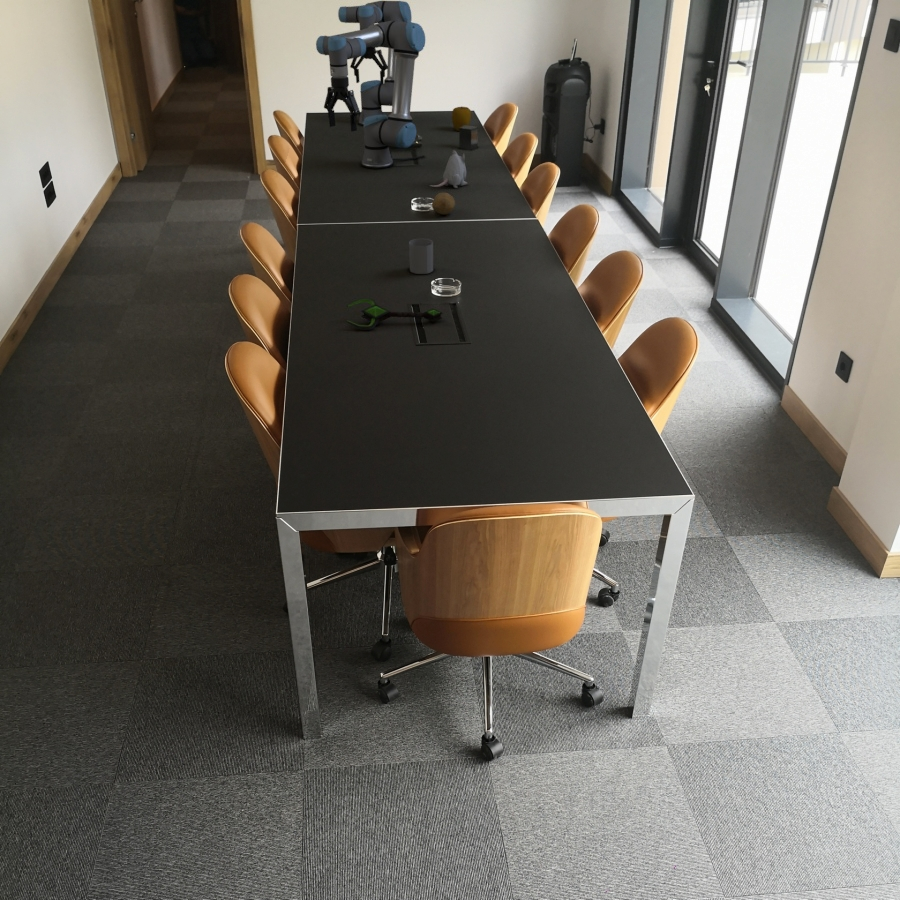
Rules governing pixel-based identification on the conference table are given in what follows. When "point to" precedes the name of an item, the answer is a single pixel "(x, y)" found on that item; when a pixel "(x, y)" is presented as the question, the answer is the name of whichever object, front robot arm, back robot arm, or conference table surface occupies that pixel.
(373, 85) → the back robot arm
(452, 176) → the toy
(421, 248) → the cup
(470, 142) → the block
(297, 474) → the conference table surface
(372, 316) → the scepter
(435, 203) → the potato
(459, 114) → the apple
